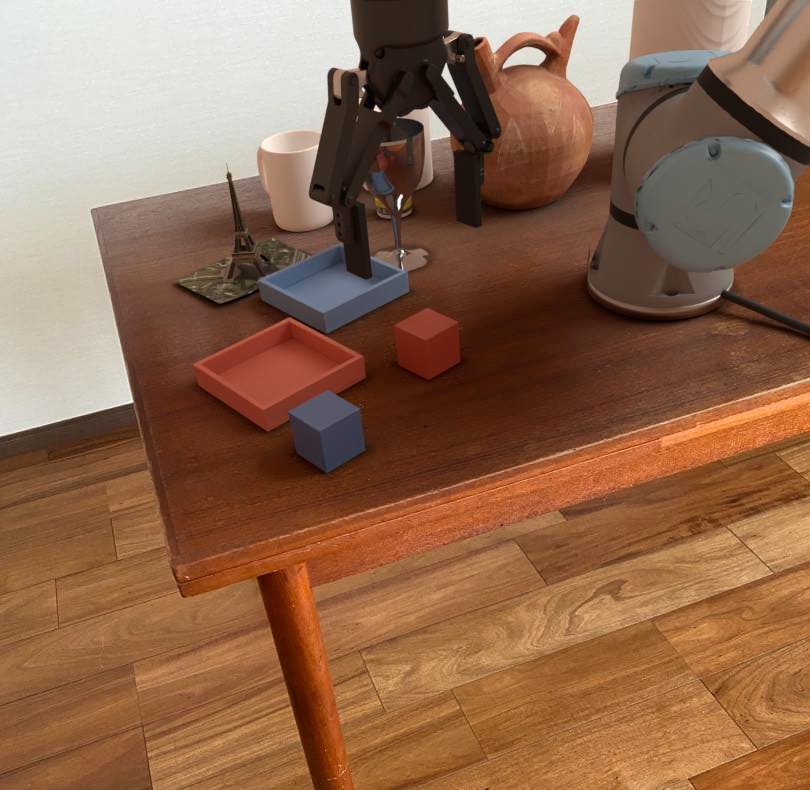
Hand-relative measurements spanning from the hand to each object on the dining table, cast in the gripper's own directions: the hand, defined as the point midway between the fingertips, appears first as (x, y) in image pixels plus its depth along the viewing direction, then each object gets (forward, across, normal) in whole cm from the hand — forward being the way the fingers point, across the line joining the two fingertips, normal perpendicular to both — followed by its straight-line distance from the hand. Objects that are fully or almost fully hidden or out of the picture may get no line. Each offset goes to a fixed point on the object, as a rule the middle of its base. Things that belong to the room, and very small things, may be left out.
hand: (416, 248), depth 81 cm
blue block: (+12, +16, +5) cm, 20 cm away
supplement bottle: (+12, -23, -31) cm, 40 cm away
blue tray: (+12, -3, -18) cm, 22 cm away
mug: (+12, -30, -40) cm, 51 cm away
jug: (+12, -38, -22) cm, 45 cm away
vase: (+12, -58, -12) cm, 60 cm away
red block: (+12, 0, +1) cm, 12 cm away
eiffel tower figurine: (+12, 0, -31) cm, 34 cm away
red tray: (+12, +12, -8) cm, 19 cm away
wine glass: (+12, -14, -20) cm, 27 cm away
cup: (+12, -14, -40) cm, 45 cm away
